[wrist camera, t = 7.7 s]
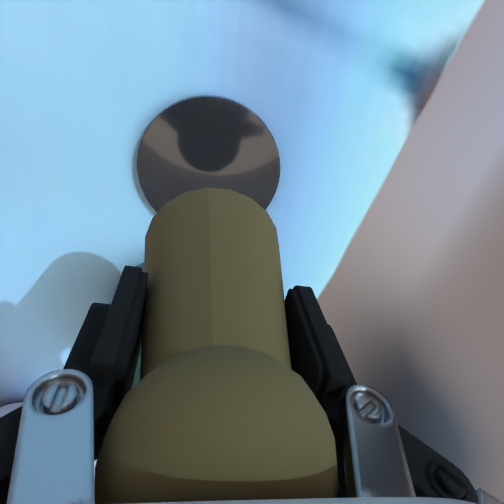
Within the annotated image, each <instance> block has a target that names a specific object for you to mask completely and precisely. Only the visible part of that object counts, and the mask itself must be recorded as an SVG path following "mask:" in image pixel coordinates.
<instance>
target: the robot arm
mask: <svg viewBox="0 0 504 504" xmlns="http://www.w3.org/2000/svg"><path fill="white" fill-rule="evenodd" d="M147 285H148V273H147V272H143V268H141V267H133V266H125V267H124V269H123V272H122V275H121V278H120V280H119V283H118V286H117V289H116V291H115V294H114V297H113V300H112V302H111V304H102V303H93V304H92V305H91V307H90V309H89V311H88V314H87V316H86V318H85V320H84V323H83V325H82V327H81V330H80V332H79V334H78V336H77V339H76V341H75V343H74V346H73V348H72V350H71V352H70V355H69V357H68V359H67V362H66V364H65V366H64V368H63V369H61V370H57V371H53V372H50V373H48V374H46V375H44V376H42V377H40V378H39V379H38V380H36V381H35V382H34V383H33V384H32V385H31V386H30V388H29V389H28V390H27V392H26V395H25V397H24V401H23V405H22V406H20V407H18V408H17V409H15V410H13V411H11V412H9V413H8V414H6V415H4V416H2V417H0V504H95V494H94V461H95V460H97V459H98V455H99V451H100V448H101V444H102V441H103V438H104V436H105V434H106V431H107V429H108V427H109V425H110V423H111V420H112V418H113V416H114V414H115V413H116V411H117V409H118V407H119V405H120V404H121V402H122V400H123V398H124V396H125V394H126V393H128V392H129V391H130V390H131V389H132V385H133V381H134V376H135V371H136V367H137V362H138V357H139V353H140V348H141V337H142V316H143V311H144V305H145V299H146V294H147ZM284 303H285V312H286V320H287V330H288V340H289V349H290V359H291V369H292V370H293V371H294V372H296V373H297V374H299V375H300V376H301V377H302V378H303V380H304V381H305V382H306V384H307V385H308V387H309V388H310V389H311V391H312V392H313V394H314V395H315V397H316V398H317V400H318V402H319V403H320V405H321V406H322V408H323V409H324V411H325V413H326V414H327V417H328V420H329V423H330V426H331V429H332V432H333V435H334V438H335V446H336V458H337V470H338V484H339V487H338V491H337V496H336V498H311V499H269V500H229V501H192V502H159V503H126V504H504V503H503V502H502V501H500V500H498V499H497V498H495V497H493V496H492V495H490V494H489V493H487V492H485V491H484V490H482V489H481V488H478V489H477V490H474V487H473V486H472V484H471V483H470V481H469V479H468V478H467V477H466V476H465V475H464V473H463V472H462V471H461V470H459V469H458V468H457V467H456V466H455V465H454V464H452V463H451V462H450V461H448V460H447V459H445V458H444V457H443V456H441V455H440V454H438V453H437V452H435V451H434V450H433V449H431V448H430V447H429V446H427V445H425V444H424V443H423V442H422V441H420V440H419V439H417V438H416V437H415V436H413V435H412V434H410V433H409V432H408V431H406V430H405V429H404V428H402V427H401V426H399V425H398V424H397V421H396V416H395V413H394V410H393V407H392V405H391V404H390V402H389V401H388V400H387V398H386V397H385V396H384V395H382V394H381V393H380V392H379V391H377V390H376V389H374V388H372V387H369V386H367V385H360V384H359V385H357V383H356V381H355V379H354V377H353V374H352V372H351V370H350V368H349V366H348V363H347V361H346V359H345V356H344V354H343V352H342V350H341V347H340V345H339V343H338V341H337V338H336V336H335V334H334V332H333V330H332V328H331V326H330V325H328V324H327V322H326V320H325V318H324V316H323V313H322V311H321V309H320V306H319V304H318V302H317V299H316V297H315V295H314V293H313V290H312V288H311V287H305V286H294V288H293V289H289V290H288V293H287V296H286V298H285V301H284Z"/></svg>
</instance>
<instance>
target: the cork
mask: <svg viewBox="0 0 504 504" xmlns="http://www.w3.org/2000/svg"><path fill="white" fill-rule="evenodd" d="M144 272H147V273H148V285H147V294H146V299H145V305H144V311H143V316H142V337H141V363H140V382H139V383H137V384H136V385H135V386H134V387H133V388H132V389H131V390H130V391H129V392H128V393H126V394H125V396H124V398H123V400H122V402H121V404H120V405H119V407H118V409H117V411H116V413H115V414H114V416H113V418H112V420H111V423H110V425H109V427H108V429H107V431H106V434H105V436H104V438H103V441H102V444H101V448H100V451H99V455H98V459H97V462H96V466H95V476H94V494H95V504H126V503H159V502H192V501H229V500H269V499H311V498H336V496H337V491H338V487H339V484H338V470H337V458H336V446H335V438H334V435H333V432H332V429H331V426H330V423H329V420H328V417H327V414H326V413H325V411H324V409H323V408H322V406H321V405H320V403H319V402H318V400H317V398H316V397H315V395H314V394H313V392H312V391H311V389H310V388H309V387H308V385H307V384H306V382H305V381H304V380H303V378H302V377H301V376H300V375H299V374H297V373H296V372H294V371H293V370H292V369H291V359H290V349H289V340H288V330H287V320H286V312H285V303H284V292H283V282H282V272H281V263H280V253H279V244H278V238H277V231H276V227H275V225H274V224H273V222H272V220H271V218H270V216H269V215H268V213H267V211H265V210H264V209H263V208H262V207H261V206H260V205H259V204H257V203H256V202H255V201H254V200H253V199H252V198H250V197H247V196H245V195H243V194H240V193H238V192H235V191H233V190H230V189H219V188H209V187H208V188H203V189H198V190H193V191H188V192H185V193H183V194H181V195H179V196H178V197H176V198H174V199H172V200H171V201H169V202H167V203H166V204H165V205H164V206H163V207H162V208H161V209H160V210H159V212H158V213H157V214H156V215H155V216H154V217H153V218H152V221H151V223H150V226H149V229H148V231H147V234H146V237H145V260H144Z"/></svg>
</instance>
